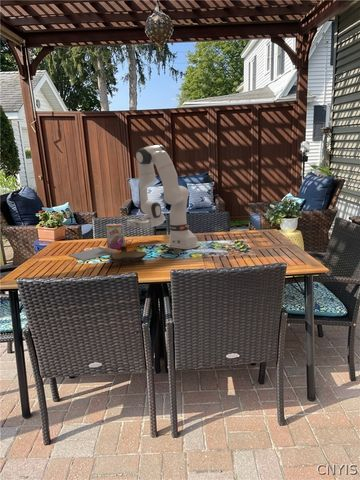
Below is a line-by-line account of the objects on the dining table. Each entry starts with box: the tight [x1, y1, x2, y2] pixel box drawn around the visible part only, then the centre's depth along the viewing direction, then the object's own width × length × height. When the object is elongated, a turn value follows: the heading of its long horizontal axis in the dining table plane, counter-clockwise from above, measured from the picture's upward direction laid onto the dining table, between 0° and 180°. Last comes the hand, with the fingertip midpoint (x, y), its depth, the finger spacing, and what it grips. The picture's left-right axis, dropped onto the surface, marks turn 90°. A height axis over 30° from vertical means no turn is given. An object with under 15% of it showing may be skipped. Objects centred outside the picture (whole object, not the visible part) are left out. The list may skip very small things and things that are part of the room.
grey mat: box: [68, 245, 118, 261], centre depth 235 cm, size 20×24×2 cm
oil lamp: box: [107, 243, 148, 264], centre depth 213 cm, size 22×30×8 cm
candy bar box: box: [105, 223, 126, 250], centre depth 245 cm, size 11×5×16 cm, turn 84°
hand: (128, 225), depth 251 cm, fingers closed
